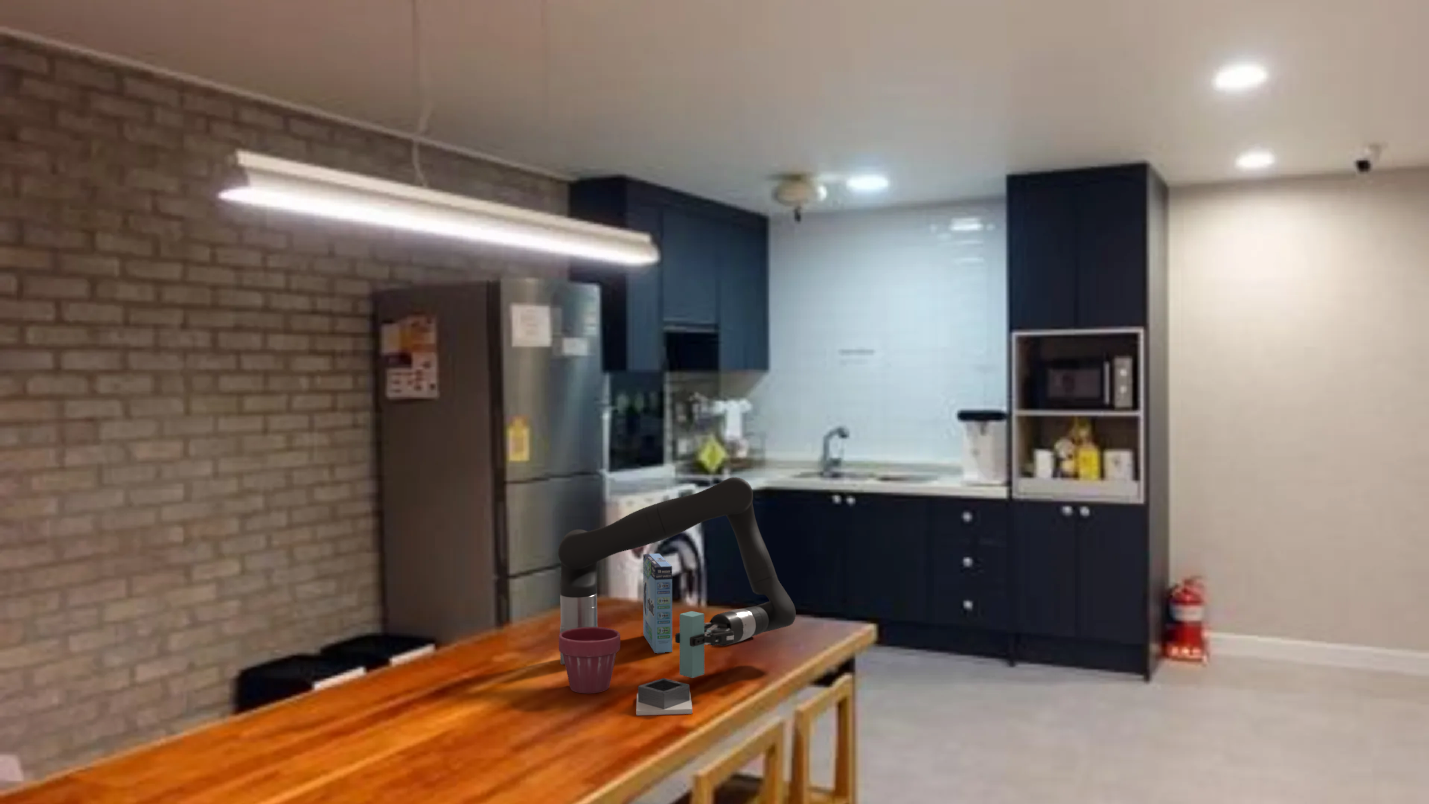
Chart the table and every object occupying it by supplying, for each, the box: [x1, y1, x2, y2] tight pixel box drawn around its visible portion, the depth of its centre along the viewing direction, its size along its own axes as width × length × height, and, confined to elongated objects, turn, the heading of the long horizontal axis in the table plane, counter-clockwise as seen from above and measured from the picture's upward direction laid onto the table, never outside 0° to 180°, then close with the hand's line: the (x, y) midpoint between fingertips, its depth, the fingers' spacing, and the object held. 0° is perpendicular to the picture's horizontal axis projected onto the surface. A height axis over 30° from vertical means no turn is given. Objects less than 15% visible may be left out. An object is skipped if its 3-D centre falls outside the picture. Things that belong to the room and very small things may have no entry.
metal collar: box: [637, 677, 691, 709], centre depth 235 cm, size 8×8×4 cm
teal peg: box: [679, 610, 705, 679], centre depth 245 cm, size 4×4×14 cm
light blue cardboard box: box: [642, 553, 673, 654], centre depth 288 cm, size 20×5×23 cm, turn 13°
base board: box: [635, 693, 693, 716], centre depth 235 cm, size 12×12×1 cm
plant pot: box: [558, 626, 621, 694], centre depth 249 cm, size 14×14×13 cm
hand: (683, 640), depth 243 cm, fingers closed on teal peg, 4 cm apart
